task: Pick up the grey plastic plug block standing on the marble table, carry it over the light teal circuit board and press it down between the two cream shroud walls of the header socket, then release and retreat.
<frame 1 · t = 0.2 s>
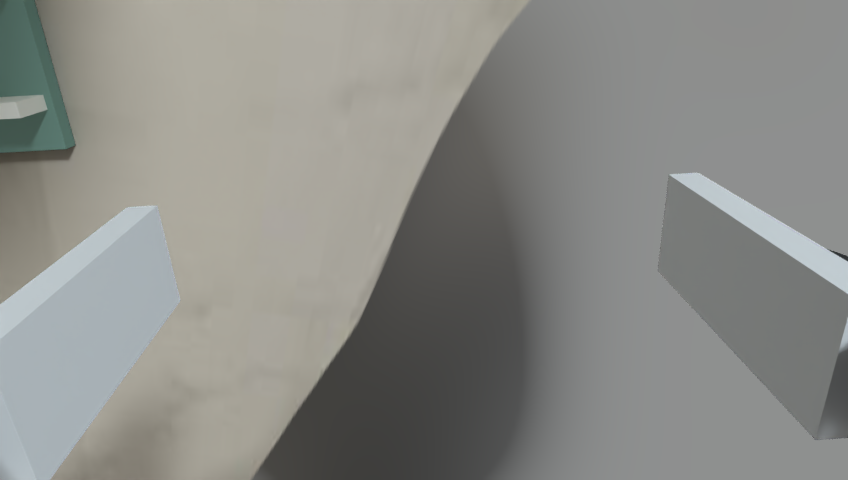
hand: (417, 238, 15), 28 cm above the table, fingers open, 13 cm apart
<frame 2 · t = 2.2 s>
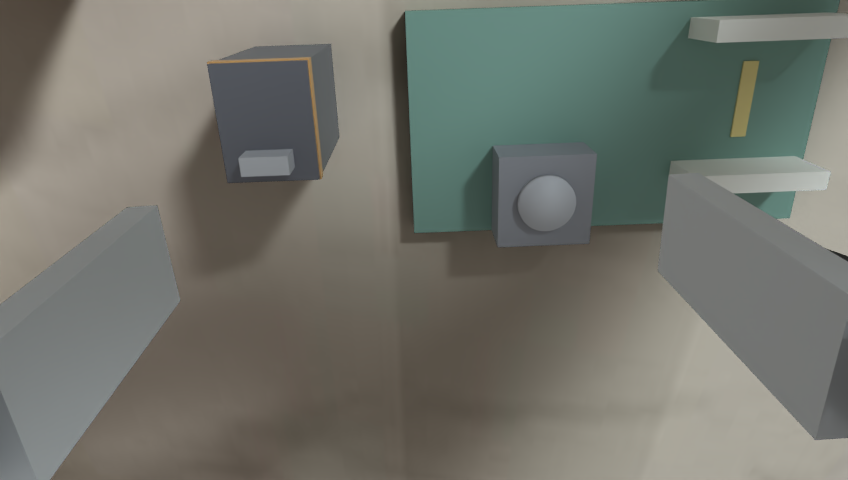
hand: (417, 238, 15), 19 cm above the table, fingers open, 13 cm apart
board: (605, 118, 33), on the table
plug: (298, 93, 32), on the table
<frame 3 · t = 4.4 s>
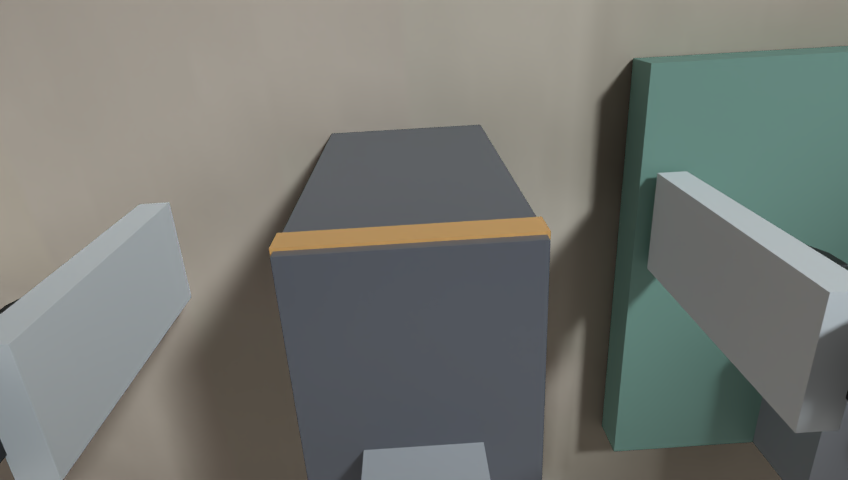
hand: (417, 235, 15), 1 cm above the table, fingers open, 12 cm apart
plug: (411, 216, 17), on the table
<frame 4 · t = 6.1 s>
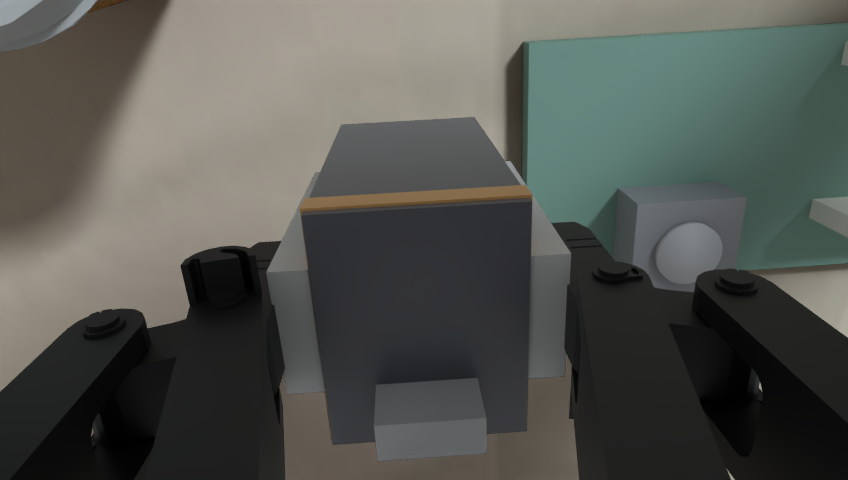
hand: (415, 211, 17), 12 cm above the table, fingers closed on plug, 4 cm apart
board: (737, 153, 29), on the table
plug: (412, 200, 18), point 11 cm above the table, touching gripper
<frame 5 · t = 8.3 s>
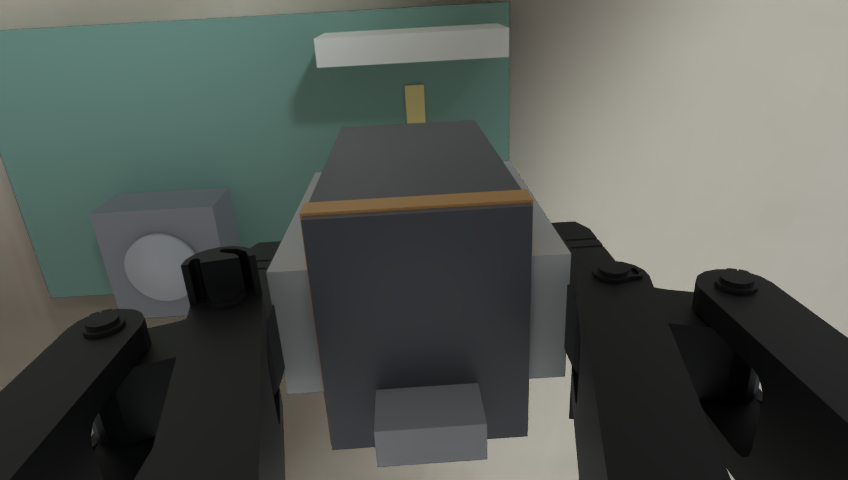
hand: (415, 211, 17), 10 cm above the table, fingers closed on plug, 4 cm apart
board: (265, 156, 27), on the table
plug: (412, 202, 18), point 9 cm above the table, touching gripper
when the fingers open (2 cm above the table, at t = 10.6 s): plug stays where it is, resting on board.
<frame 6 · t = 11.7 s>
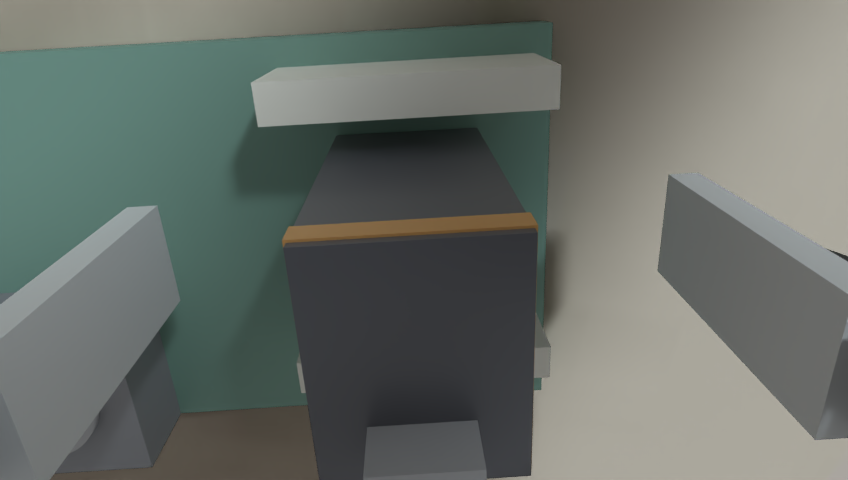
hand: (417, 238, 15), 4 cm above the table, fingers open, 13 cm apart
board: (200, 237, 19), on the table
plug: (411, 214, 17), point 1 cm above the table, touching board
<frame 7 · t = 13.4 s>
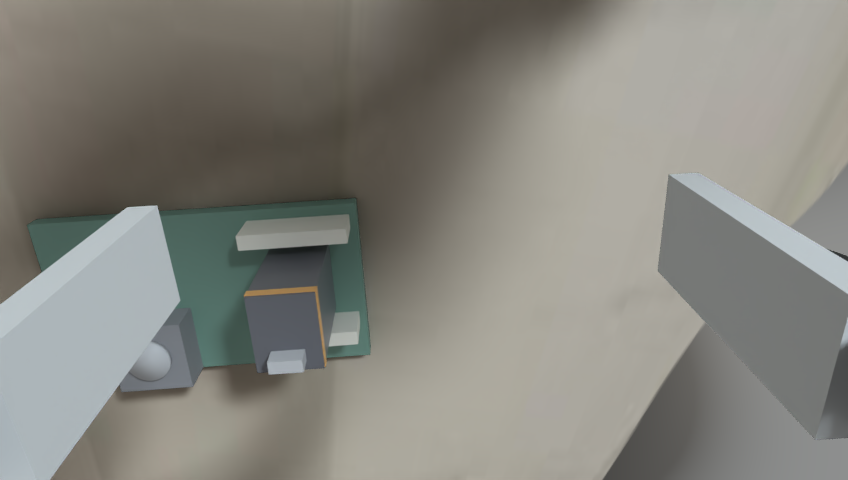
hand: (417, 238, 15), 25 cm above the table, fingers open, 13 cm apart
board: (213, 286, 43), on the table
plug: (304, 276, 41), point 1 cm above the table, touching board
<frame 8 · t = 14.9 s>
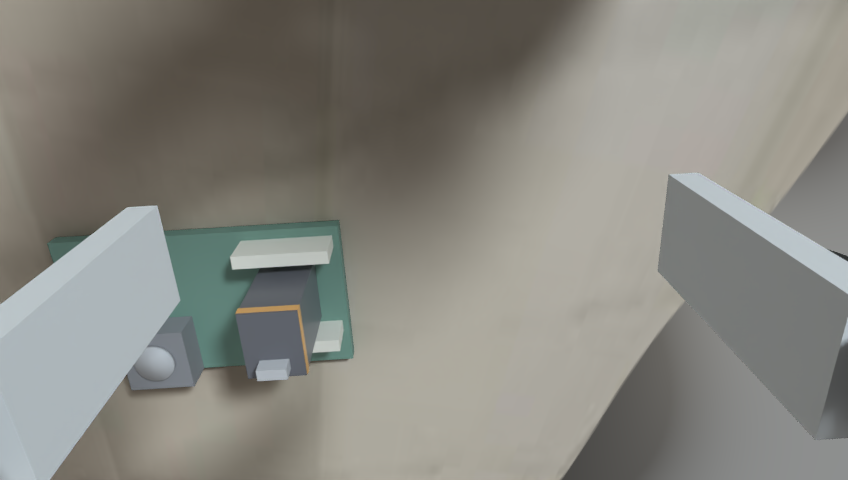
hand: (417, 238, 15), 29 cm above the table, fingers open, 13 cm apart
board: (212, 296, 48), on the table
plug: (292, 290, 46), point 1 cm above the table, touching board
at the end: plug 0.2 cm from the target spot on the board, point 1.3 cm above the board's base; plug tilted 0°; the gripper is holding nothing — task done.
